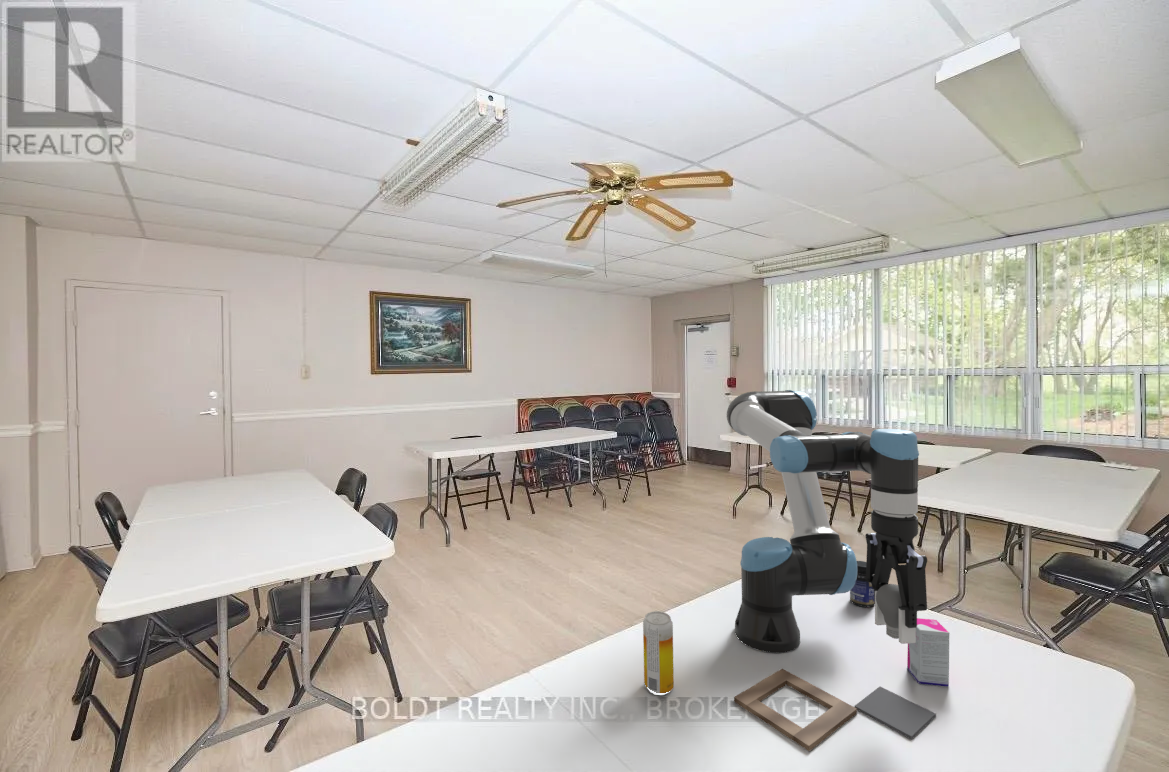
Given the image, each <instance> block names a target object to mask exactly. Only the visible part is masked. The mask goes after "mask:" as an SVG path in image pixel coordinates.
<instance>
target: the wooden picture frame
mask: <svg viewBox="0 0 1169 772" xmlns="http://www.w3.org/2000/svg"><path fill="white" fill-rule="evenodd" d="M786 686H787V687H789V688H791V689H793V690H795V691H796V692H798V693H800V694H802V695H803V696H805V697H807V698H809V699H811V700H812V701H814V702H816V703H818V704H819V705H821V706H822V707H824V708H827V710H826V711H825V712H824V713H822V714H821V715H819V716H818V717H816V718H815V719H814V720H813V721H811V722H810V723H808V724H807V725H805V727H802V726H800V725H798V724H797V723H795V722H793V721H792V720H790V719H789V718H787V717H786V716H784V715H783V714H781V713H779V712H777V711H776V710H774V709H772V708H771V707H769V706H768V705H766V704H765V703H763V702H762V701H763V700H765V699H767V698H768V697H770V696H771V695H773V694H775V693H776V692H778V691H779V690H781V689H782V688H784V687H786ZM733 702H734V703H735V704H736V705H738V706H740V707H741V708H742V709H744V710H746V711H747V712H749V713H750V714H751V715H753V716H755V717H756V718H758V719H759V720H761V721H762V722H763V723H765V724H767V725H769V726H770V727H771V728H772V729H774V730H776V731H777V732H779V733H780V734H782V735H783V736H785V737H786V738H788V739H789V740H791V741H793V742H794V743H795V744H797V745H799V746H800V747H801V748H803V749H804V750H806V751H808V752H811V751H812V750H813V749H814V748H816V747H817V746H818V745H819V744H821V743H822V742H823V741H824V740H826V739H827V738H829V736H831V735H832V734H834V733H835V732H836V731H837V730H838V729H840V728H841V727H842V726H843V725H845V724H846V723H847V722H849V721H850V720H851V719H852V718H854V717H855V716H856V715H857V714H858V710H857V708H855V706H853V705H851V704H849V703H848V702H846V701H844V700H842V699H840V698H838V697H836V696H835V695H833V694H830V693H829V692H827V691H825V690H823V689H822V688H820V687H818V686H816V685H815V684H812V683H811V682H808V681H807V680H805V679H803V678H801V677H799V676H798V675H795V674H794V673H792V672H790V671H788V670H787V669H784V668H780V669H778V670H776V671H775V672H774V673H772V674H770V675H768V676H766V677H765V678H763V679H761V680H759V681H758V682H756V683H755V684H753V685H752V686H750V687H748V688H746V689H745V690H743V691H742V692H740V693H738V694H736V695H735V696H733Z"/></svg>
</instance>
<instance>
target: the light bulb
mask: <svg viewBox="0 0 1169 772" xmlns="http://www.w3.org/2000/svg"><path fill="white" fill-rule="evenodd" d="M876 602H877V605H878V607H879V608H880V610H881V612H882V614H883V616H884V620H885V623H886V625H885V631H886V632H885V633H886V635H887V636H889V637H890V638H892V639H895V640H897V639H898V640H899V607H898V606H902V602H901V597H900V592H899V587H898V584H895V583H888V584H886V585H883V586H882V587H880V588H879V590H878V591H877V593H876ZM908 603H909V602H908Z"/></svg>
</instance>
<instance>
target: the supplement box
mask: <svg viewBox="0 0 1169 772" xmlns="http://www.w3.org/2000/svg"><path fill="white" fill-rule="evenodd" d="M950 635H951V634H950V632H949V631H948V630H947V629H946V628H945V627H944V626H943V624H941V623H940V622H939V621H938V620H937V619H934V618H933V619H930V618H919V617H917V627H916V643H907V667H906V669H907V670H908V672H909V673H910V674H911V676H912V677H913V679H914V680H915V681H916V683H917V684H918V685H922V686H923V685H925V686H935V687H936V686H937V687H946V688H948V687H949V683H950Z"/></svg>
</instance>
